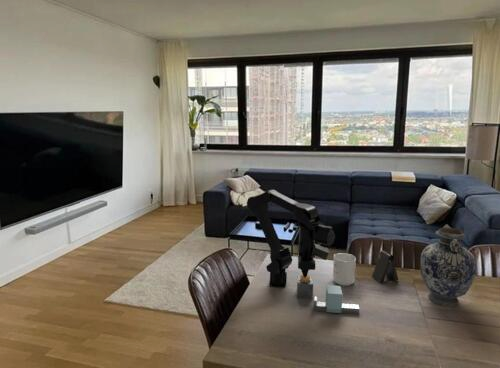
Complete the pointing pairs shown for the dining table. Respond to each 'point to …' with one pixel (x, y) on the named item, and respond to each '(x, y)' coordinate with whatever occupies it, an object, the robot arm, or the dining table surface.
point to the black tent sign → (385, 268)
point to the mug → (344, 269)
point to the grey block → (334, 298)
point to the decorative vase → (447, 267)
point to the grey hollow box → (304, 288)
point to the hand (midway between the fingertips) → (305, 276)
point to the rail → (345, 309)
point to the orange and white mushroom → (305, 278)
